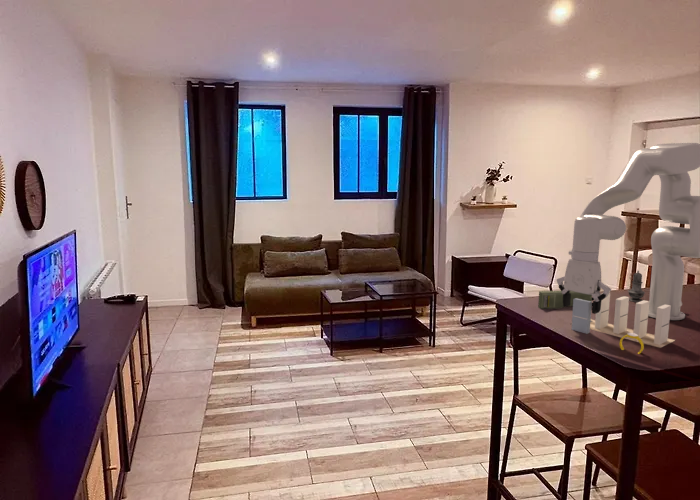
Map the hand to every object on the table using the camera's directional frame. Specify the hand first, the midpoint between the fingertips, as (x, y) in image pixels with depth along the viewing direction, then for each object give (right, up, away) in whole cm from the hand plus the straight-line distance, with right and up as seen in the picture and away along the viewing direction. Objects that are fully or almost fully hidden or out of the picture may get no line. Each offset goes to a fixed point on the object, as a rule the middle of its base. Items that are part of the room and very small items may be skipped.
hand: (580, 309), depth 159 cm
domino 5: (+20, -9, -9) cm, 23 cm away
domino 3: (+13, -7, 0) cm, 14 cm away
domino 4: (+16, -8, -5) cm, 18 cm away
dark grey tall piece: (+39, -1, +37) cm, 54 cm away
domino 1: (+1, -8, +2) cm, 8 cm away
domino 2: (+9, -6, +5) cm, 12 cm away
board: (+13, -8, 0) cm, 15 cm away
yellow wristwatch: (+7, -11, -16) cm, 20 cm away
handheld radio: (+11, -3, +30) cm, 32 cm away
